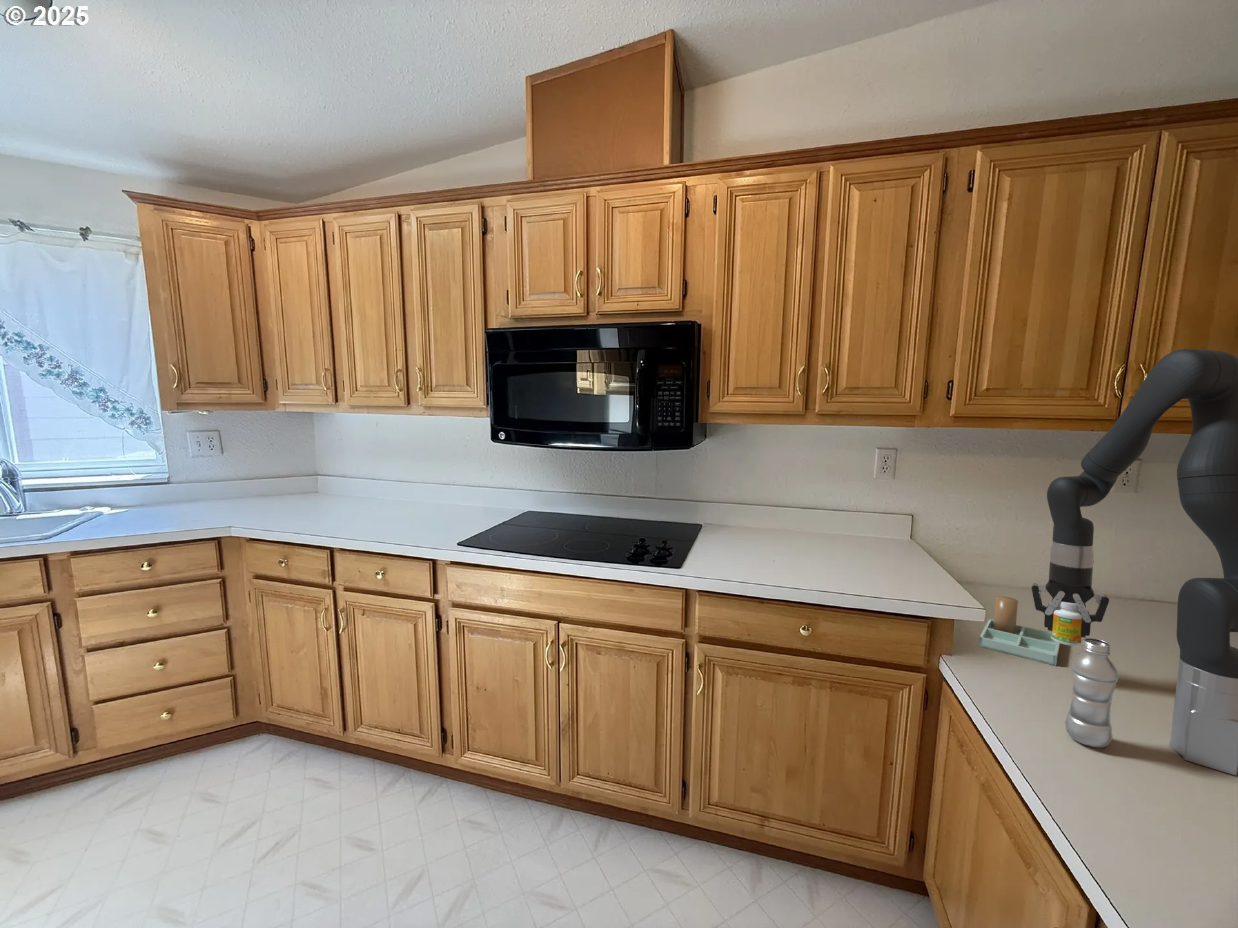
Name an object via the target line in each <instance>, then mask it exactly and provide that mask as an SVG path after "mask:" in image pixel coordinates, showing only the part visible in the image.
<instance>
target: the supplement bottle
mask: <svg viewBox="0 0 1238 928" xmlns="http://www.w3.org/2000/svg"><path fill="white" fill-rule="evenodd" d="M1082 623H1083V616H1082V614H1081V613H1080V611H1079V608H1078V606H1077V604H1075V603H1069V602H1064V601H1060V602H1059V604H1058V605H1057V607H1056V608H1055V609H1054V611H1053V612H1052V631H1050V632H1051V638H1052V639H1053V640H1054V641H1056V642H1058V643H1061V644H1062V645H1065V646H1073V647H1074V646H1080V645H1081V644H1082V638H1083V637H1082ZM1061 644H1060V645H1061Z"/></svg>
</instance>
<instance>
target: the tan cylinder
mask: <svg viewBox="0 0 1238 928" xmlns="http://www.w3.org/2000/svg"><path fill="white" fill-rule="evenodd" d="M1018 602H1019V601H1018V599H1016V598H1013V597H1010V596H1002V595H1001V596H1000V595H999V596H996V597H995V608H994V620H995V621H994V630H999V631H1003V632H1007V633H1012V634H1015V633H1016V625H1017V618H1018V606H1019V605H1018V604H1019V603H1018Z"/></svg>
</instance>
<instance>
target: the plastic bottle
mask: <svg viewBox="0 0 1238 928" xmlns="http://www.w3.org/2000/svg"><path fill="white" fill-rule="evenodd" d="M1081 649H1082V650H1083V651H1082V652H1081V653H1079V654H1077V656H1076V657H1074V658H1073V660H1072V662H1071V676H1072V697H1071V702H1070V707H1069V710H1068V711H1067V714H1066V718H1065V721H1064V723H1065V730H1066V733H1067V734H1068V735H1069V737H1070V738H1072V740H1074V741H1076V742H1078V743H1080V744H1083V745H1084V746H1088V747H1092V748H1097V749H1098V748H1099V749H1101V748H1105V747H1107V746H1109V745H1111V741H1112V740H1113V726H1112V724H1111V723H1112V722H1111V717H1112V715H1111V713H1112V712H1111V706H1112V701H1113V696H1114V692H1115V689H1116V687H1117V683H1118V680H1119V677H1120V675H1119V671H1118V668H1117V667H1116V665H1115V664H1114V662H1113V661H1112V660H1111V658H1110V656H1111V644H1110V643H1109V642H1107V641H1105V640H1102V639H1098V638H1094V637H1093V638H1092V637H1086V638H1083V640H1082V645H1081Z"/></svg>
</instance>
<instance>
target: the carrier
mask: <svg viewBox="0 0 1238 928" xmlns="http://www.w3.org/2000/svg"><path fill="white" fill-rule="evenodd" d="M994 621H995V619H993V618H988V621H987V622H986V624H985V626H984V628H983V630H982V632H981V633H980V636H979V637H978V647H981V648H984V649H987V650H992V651H996V652H1000V653H1004V654H1007V655H1012V656H1015V657H1019V658H1022V659H1023V658H1024V659H1027V660H1031V661H1035V662H1039V663H1043V664H1048V665H1050V666H1055V667H1057V663H1058V659H1059V658H1058V657H1059V653H1060V648H1061V643H1058V642H1056V641H1054V640H1053V639H1052V638H1051V631H1048V630H1047V631H1046V630H1042V629H1037V628H1033V627H1028V626H1023V625H1019V624H1016V633H1015V634H1012V633H1007V632H1003V631H999V630H994Z"/></svg>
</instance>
